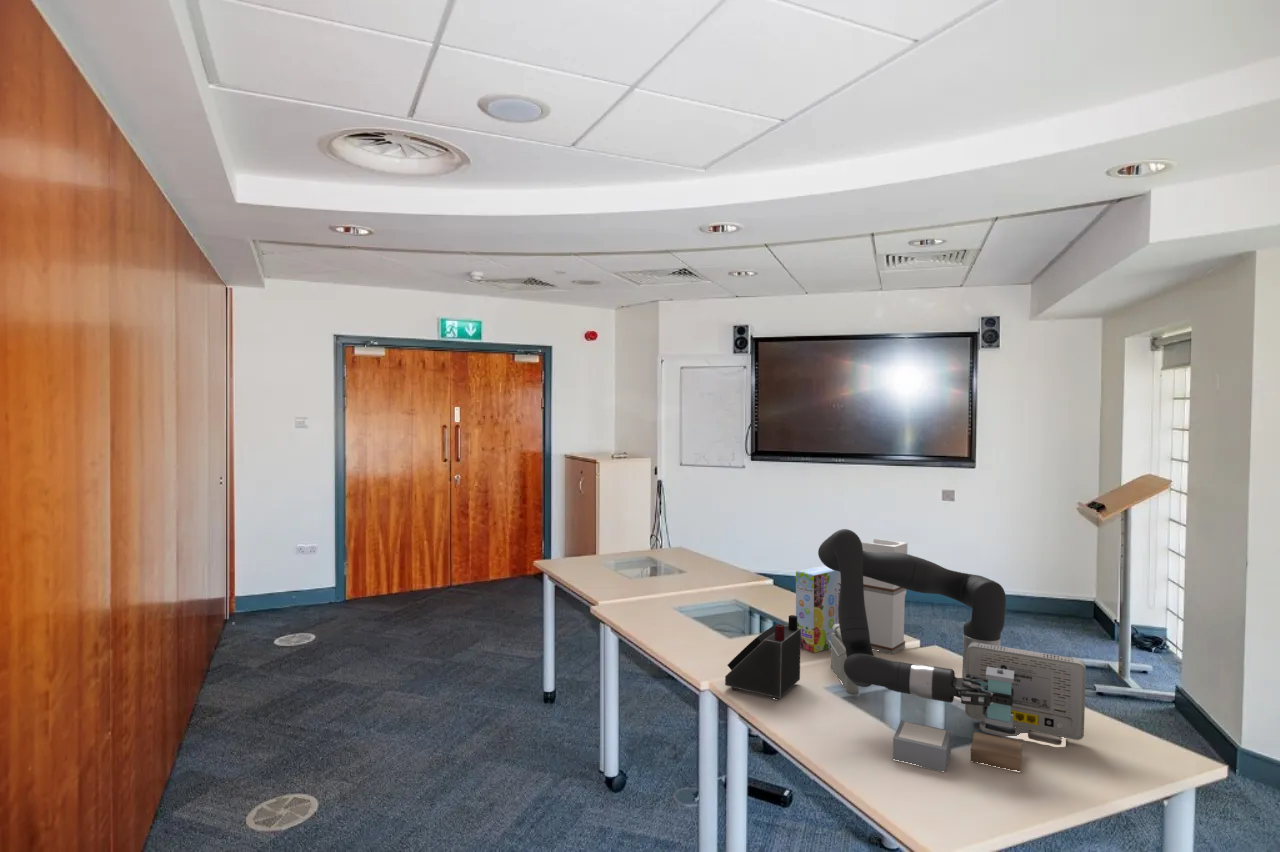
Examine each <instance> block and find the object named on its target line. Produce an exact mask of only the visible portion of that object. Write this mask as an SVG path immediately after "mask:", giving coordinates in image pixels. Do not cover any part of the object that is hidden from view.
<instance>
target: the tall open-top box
mask: <svg viewBox="0 0 1280 852" xmlns="http://www.w3.org/2000/svg"><path fill="white" fill-rule="evenodd" d="M861 543H862V547H863V551H866V552H874V553H904V554H908V544H909V543H908V542H903V541H896V540H889V539H881V538H873V543H872V542H865V541H861ZM863 587H864V602H865V610H866V616H867V622H868V628H869V635H870V643H871V647H872V649H875V650H879V651H878V652H879V653H883V654H888V655H893V654H894V655H895V654H896V653H897V652H899V651H900V650H902V649H904V648H905V647H906V641H905V638H904V637H905V607H906V606H905V605H906V604H905V603H906V602H905V601H906V595H907V589H905V588H901V587H898V586H896V585H892V584H889V583H885V582H882V581H879V580H875V579H872V578H869V577H865V576H863ZM875 650H874V651H875Z"/></svg>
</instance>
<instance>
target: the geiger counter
mask: <svg viewBox="0 0 1280 852" xmlns="http://www.w3.org/2000/svg"><path fill="white" fill-rule="evenodd" d="M832 630H833V632H834V633H832V635H831V642H830V640H828V646H829V648H828V650H829V652H830V669H831V670H833V671H832V672H833V674H834V673H835V674H836V675H837V677H838V678H839V679H840V680H841V681H842V683H843V685H842V687H843V688H844V690H845V691H846V693H848V694H849V693H851V694H855V693H857V694H858V693H859V686H857V685H856V684H854V683H853V682H852V681H851V680H850V679H849V678H848V677H847V675H846V674H845V671H844V662H845V660H846V658H847V655H846V649H845V646H844V644H843V642H842V638H841V633H840V626H839V624H834V625H833V628H832ZM829 643H830V644H829ZM830 645H831V648H830ZM835 674H834V675H835ZM836 675H835V676H836ZM837 677H836V678H837ZM838 678H837V679H838Z"/></svg>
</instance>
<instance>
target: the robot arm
mask: <svg viewBox="0 0 1280 852" xmlns="http://www.w3.org/2000/svg"><path fill="white" fill-rule="evenodd" d="M861 542H862V539H861V538H860V537H859V536H858V534H857V533H856V532H854V531H852V530H850V529H848V528H847V529H846V528H842V529H838V530H836V531H835V532H834V533H832V534H831V535H830V536H828V538H826V539H825V540H824V541H823V542H822V543H821V544H820V546H819V548H818V550H817V551H818V552H817V553H818V558H819V560H820V561H821V563H822V564H823V566H824V565H825V566H827V567H828V568H830V569H832V570H835V571H839V572H840V575H841V587H840V596H839V604H838V618H839V626H840V633H841V638H842V642H843V644H844V646H845V649H846V655H847V658H846V660H845V662H844V671H845V674H846V675H847V677H848V678H849V679H850V680H851V681H852V682H853V683H854V684H856V685H857V686H858V687H860V688H868V687H870V686H878V687H883V688H885V689H888V690H890V691H892V692H897V693H902V694H907V695H912V696H915V697H919V698H921V699H928V700H934V701H937V702H944V703H950V704H951V703H953V702H954V699H955V698H954V697H956V698H959V699H960V703H961V705H965V704H969V705H980V706H990V704H994V703H997V704H1003V705H1009V706H1012V705H1013V696H1014V689H1013V688H1012V687H1011V695H1008V694H1002V693H996V692H992V691H988V679H986V678H982V677H978V676H975V675H971V674H966V659H967V649H968V647H969V645H970V644H971V643H973V642H977V643H983V644H989V645H995V646H1001V634H1002V632H1003V629H1004V627H1005V617H1006V608H1007V607H1006V606H1007V599H1006V598H1007V597H1006V592H1005V590H1004V587H1003V586H1002V585H1001V584H1000V583H998V582H997V581H995V580H992V579H990V578H988V577H985V576H983V575H982V576H981V575H980V574H979V575H978V574H972V573H968V572H967V573H966V572H961V571H955V570H951V569H948V568H945V567H943V566H941V565H939V564H937V563H935V562H932V561H930V560H927V559H925V558H922V557H918V556H914V555H911V554H909V553H907V554H904V553H874V552H866V551H863V547H862V543H861ZM863 576H865V577H869V578H872V579H875V580H879V581H882V582H885V583H889V584H892V585H896V586H898V587H901V588H905V589H906V590H908V591H913V592H916V593H921V594H930V595H931V594H932V595H941V596H944V597H946V598H949V599H952V600H955V601H957V602H960V603H961V604H964V605H966V606H967V607H969V608H971V609H972V610H971V620H969V621H967V622H965V623H964V625H963V630H962V631H963V634H962V635H963V636H962V640H963V641H962V671H961V673H962V674H961V676H962V677H956V673H955V670H954V669H952V668H946V667H941V666H934V665H927V664H922V663H920V664H919V663H910V662H903V661H897V660H889V659H885V658H882V657H879V656H875V655H874V650H872V647H871V643H870V635H869V628H868V622H867V616H866V610H865V602H864V587H863ZM986 686H987V687H986Z"/></svg>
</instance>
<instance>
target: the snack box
mask: <svg viewBox="0 0 1280 852" xmlns="http://www.w3.org/2000/svg"><path fill="white" fill-rule="evenodd" d="M840 587H841V575H840V572H839V571H835V570H832V569H830V568H828V567H827V566H825V565H824V564H823V565H820V566H815V567H809V568H807V569H806V568H805V569H801V570H797V571H795V616H797V627H799V628H801V648H802V650H804V649H805V650H804V651H807V650H808V652H810V651H812V652H811V653H813V652H816V653H818V652H821V651H823V650H827V649H829V646H828V640H830V642H831V635H832V633H834V632H833V630H832V628H833V625H834V624H839V618H838V604H839V596H840ZM829 644H830V643H829ZM830 647H831V645H830Z"/></svg>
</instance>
